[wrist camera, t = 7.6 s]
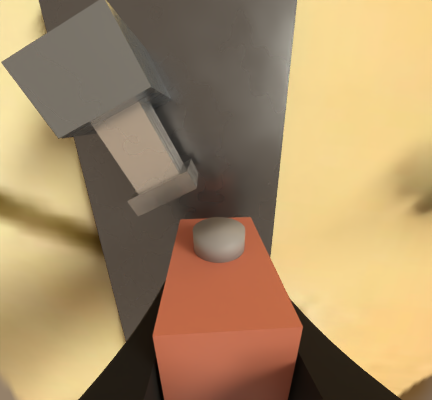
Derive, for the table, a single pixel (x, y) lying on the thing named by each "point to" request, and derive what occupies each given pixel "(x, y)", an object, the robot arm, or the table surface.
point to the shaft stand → (164, 119)
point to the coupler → (224, 317)
